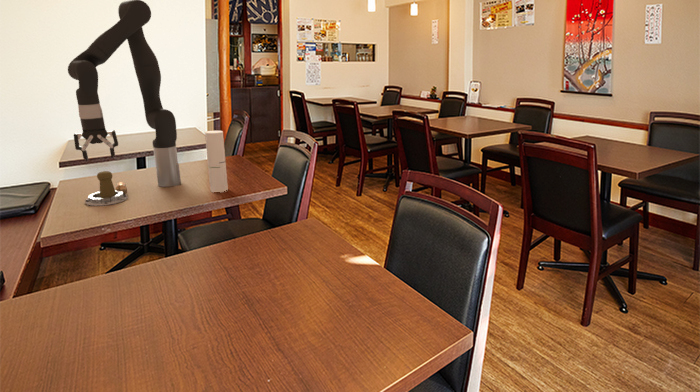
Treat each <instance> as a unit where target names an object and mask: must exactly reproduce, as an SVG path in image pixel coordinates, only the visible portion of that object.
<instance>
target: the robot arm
mask: <svg viewBox="0 0 700 392" xmlns="http://www.w3.org/2000/svg"><path fill="white" fill-rule="evenodd" d="M117 13H118V18H119V20H118V21H117V22H116V23H115V24H114V25H112V26H111V27H110V28H108V29H107V30H105V31H104V32H103V33H101V34H100V35H99V36H98V37H97V38H95V40H93V41H92V42H91V44H90V45H88V48H87V49H85V50H84V51H82V52H81V53H79V54H78V55H77V56H76V57H75V58H73V59H72V60H71V61H70V63H69V64H68V66H67V73H68V75H69V76H70V78H72V79H74V80H76V81H78V88H77V89H76V90H75V95H76V97H75V98H76V100H77V101H76V102H77V107H78V108H77V109H78V115H79V119H80V124H81V129H82V130H81V131H82V133H77V132H75V133H73V140H74V147H75V150H76V151H81V153H82V157H83V159H84V160H85V161H89V155H88V151H87V148H88V146H89V145H90V144H92V145H95V144H103V143H104V144H105V145H106V146H108V147H109V153H110V158H111V159H113V158H114V157H115V156H116V154H115V153H116V152H115V148H116V147H118V146H119V141H118V137H117V134H116V131H115V130H114V129H112V130H107V129H106V124H105V119H104V113H103V110H102V109H103V108H102V106H101V103H100V97H99V94H98V91H99V90H98V89H99V72H98V70H97V67H98V66H100V65H103V64H105V63H106V62H107V61H108V60H109V58H111V57H112V56H113V54H114V53H115V52H116V51H117V50H118V49H119V48H120V46H121V45H123V43H124V42H125V41H126V40H127V43H128V48H129V51H130V54H131V58H132V64H133V67H134V72H135V75H136V77H137V81H138V85H139V90H140V93H141V96H142V101H143V108H144V115H145V121H146V124H147V125H148V126H149V127H150V128H151V129H153V130H155V138H154V139H152V148H153V156H154V165H155V170H156V178H157V179H156V180H157V185H158V186H159V187H161V188H162V187H163V188H171V187H176V186H179V185H182V180H181V172H180V163H179V160H178V152H177V143H176V142H177V139H178V137H177V135H178V134H177V133H178V131H177V121H176V117H175V115H174V113H173V112H172V111H170V110H168V109H164V108H163V105H162V101H161V95H160V91H161V82H162V74H161V69H160V65H159V61H158V58H157V56H156V55H155V53H154V51H153V50H152V48H151V46H150V45H149V43H148V41H147V40H146V39H147V38H146V37H145V34H144V29H143V27H144V26H145V25H146V24H148V23H149V22H150V20H151V17H152V11H151V8H150V6H149V4H147V3H146V1H143V0H124V1H122V2H121V3H120V4H119V5H118V9H117ZM108 135H109V136H110V137H112V139H113V140H112V141H113V142H114V143H112V142H110V140H108V139H107V136H108ZM82 137H83V138H84V140H85V142H84V144H83V145H82V146H81V145H80V140H81V138H82Z"/></svg>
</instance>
